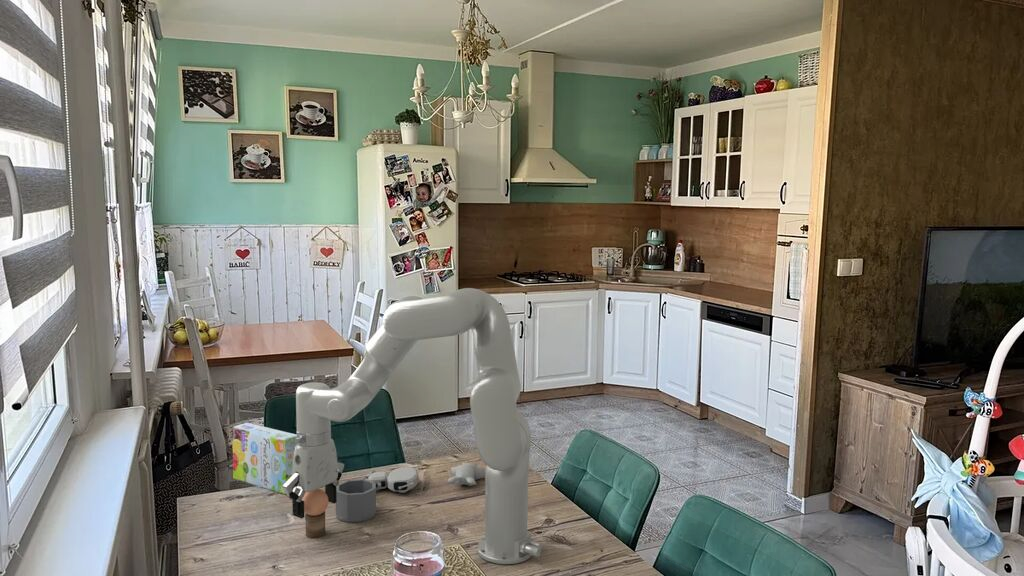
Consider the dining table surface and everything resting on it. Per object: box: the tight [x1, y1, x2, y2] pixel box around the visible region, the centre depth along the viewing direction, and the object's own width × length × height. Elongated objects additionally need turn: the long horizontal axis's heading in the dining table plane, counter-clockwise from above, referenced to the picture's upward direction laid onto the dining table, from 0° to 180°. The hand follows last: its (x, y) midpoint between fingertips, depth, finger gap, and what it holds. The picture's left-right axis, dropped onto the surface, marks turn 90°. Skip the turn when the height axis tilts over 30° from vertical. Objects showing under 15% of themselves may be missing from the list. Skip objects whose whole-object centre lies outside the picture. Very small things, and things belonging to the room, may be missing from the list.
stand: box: [304, 510, 326, 539], centre depth 165 cm, size 4×4×5 cm
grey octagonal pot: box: [335, 478, 377, 523], centre depth 175 cm, size 10×10×7 cm
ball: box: [302, 488, 329, 516], centre depth 164 cm, size 6×6×6 cm
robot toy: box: [363, 465, 420, 494], centre depth 192 cm, size 12×4×15 cm
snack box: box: [231, 422, 297, 495], centre depth 193 cm, size 21×6×15 cm, turn 59°
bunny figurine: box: [446, 462, 486, 487], centre depth 196 cm, size 10×5×15 cm
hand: (315, 509), depth 164 cm, fingers open, 9 cm apart
